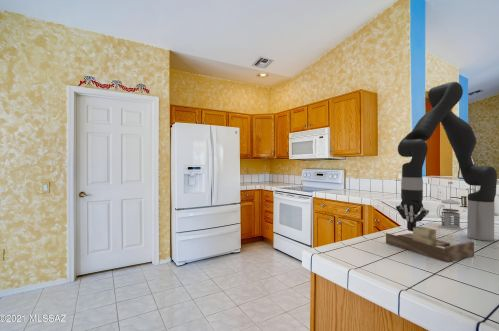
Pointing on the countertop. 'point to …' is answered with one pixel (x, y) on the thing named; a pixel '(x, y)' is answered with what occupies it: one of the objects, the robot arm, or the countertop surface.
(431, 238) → the block
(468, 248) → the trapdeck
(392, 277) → the countertop surface
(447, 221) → the french press
